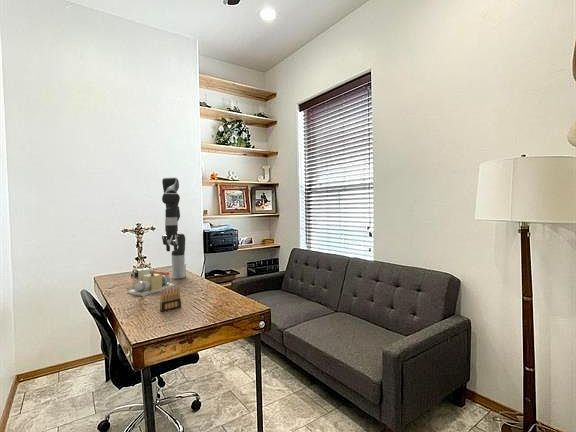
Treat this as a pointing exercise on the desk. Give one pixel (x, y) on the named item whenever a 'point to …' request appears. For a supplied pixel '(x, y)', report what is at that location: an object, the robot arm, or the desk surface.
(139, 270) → the pneumatic valve
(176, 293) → the ammunition clip
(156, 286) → the valve stand
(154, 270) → the valve lever
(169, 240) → the robot arm
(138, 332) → the desk surface
